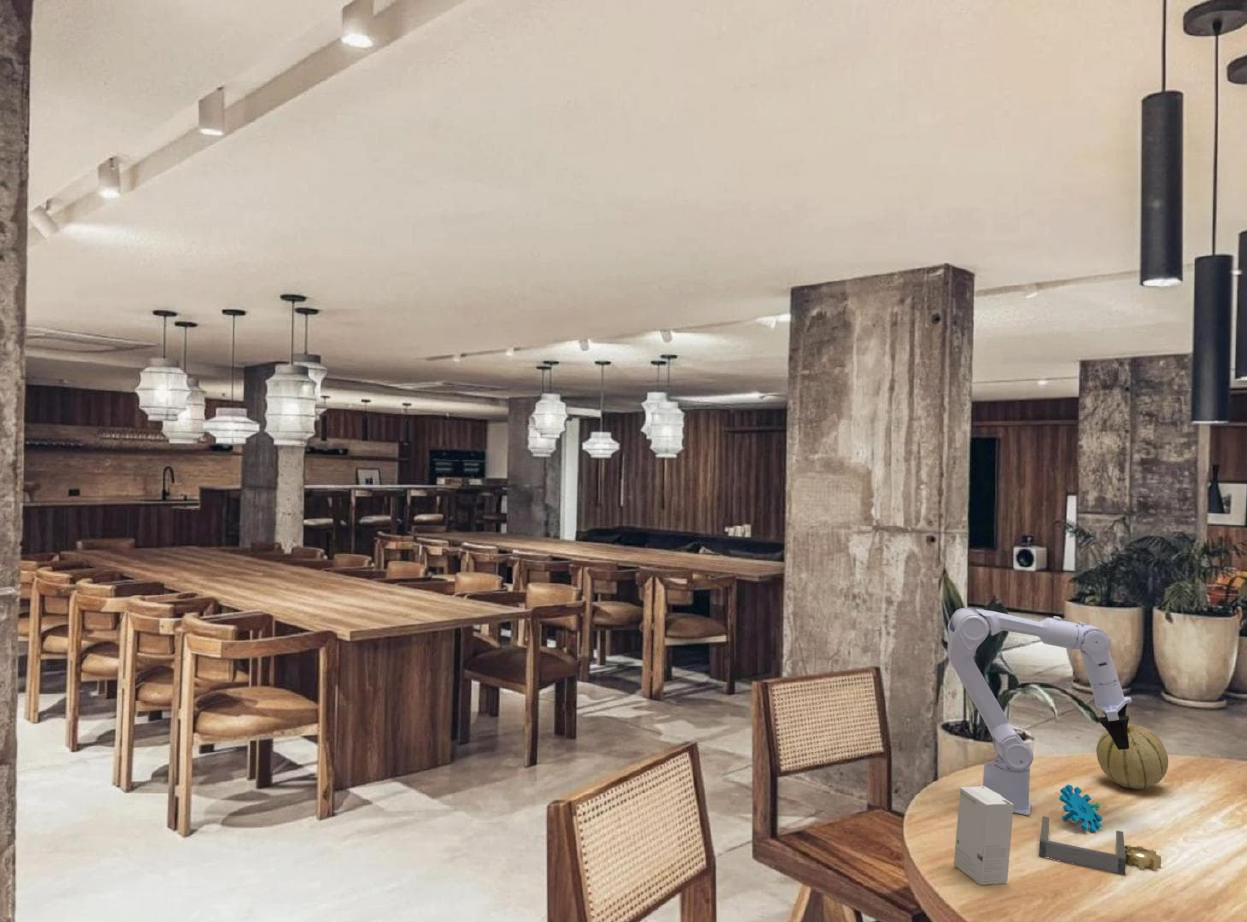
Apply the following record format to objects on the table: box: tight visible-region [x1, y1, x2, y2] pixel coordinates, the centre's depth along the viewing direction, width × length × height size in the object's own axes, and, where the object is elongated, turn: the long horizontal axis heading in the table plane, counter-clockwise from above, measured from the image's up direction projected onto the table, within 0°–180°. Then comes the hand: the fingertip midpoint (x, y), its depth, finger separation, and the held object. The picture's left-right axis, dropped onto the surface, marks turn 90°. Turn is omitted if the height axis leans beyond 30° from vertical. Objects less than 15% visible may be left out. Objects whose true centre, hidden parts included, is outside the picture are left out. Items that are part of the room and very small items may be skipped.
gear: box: [1058, 784, 1103, 833], centre depth 187 cm, size 11×6×10 cm
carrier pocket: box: [1038, 815, 1162, 876], centre depth 172 cm, size 20×14×3 cm
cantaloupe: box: [1095, 723, 1169, 790], centre depth 211 cm, size 15×15×15 cm
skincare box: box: [953, 785, 1014, 886], centre depth 162 cm, size 8×6×15 cm
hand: (1123, 742), depth 191 cm, fingers open, 7 cm apart
